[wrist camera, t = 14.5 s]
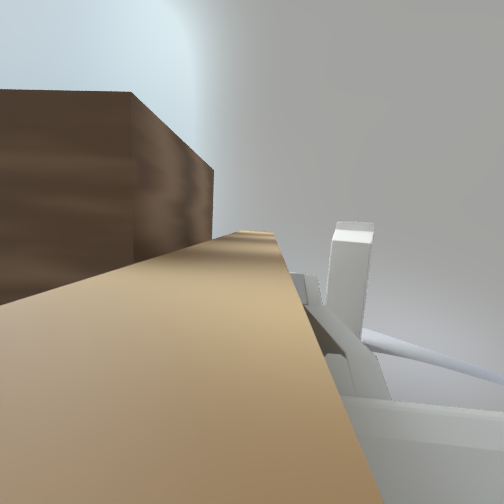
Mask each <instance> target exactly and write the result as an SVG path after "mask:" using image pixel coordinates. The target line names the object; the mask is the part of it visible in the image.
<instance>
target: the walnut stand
mask: <svg viewBox="0 0 504 504" xmlns="http://www.w3.org/2000/svg"><path fill="white" fill-rule="evenodd" d="M213 182H214V170H213V169H212V168H211V167H210V166H209V165H208V164H207V163H206V162H205V161H203V160H202V159H201V158H200V157H199V156H198V155H197V154H196V153H195V152H194V151H193V150H192V149H191V148H190V147H189V146H188V145H187V144H186V143H184V142H183V141H182V140H181V139H180V138H179V137H178V136H177V135H176V134H175V133H174V132H173V131H172V130H171V129H170V128H169V127H168V126H167V125H165V124H164V123H163V122H162V121H161V120H160V119H159V118H158V117H157V116H156V115H155V114H154V113H153V112H152V111H151V110H150V109H149V108H148V107H146V106H145V105H144V104H143V103H142V102H141V101H140V100H139V99H138V98H137V97H136V96H135V95H134V94H133V93H132V92H112V91H61V90H11V89H9V90H8V89H0V306H1V305H4V304H7V303H11V302H14V301H17V300H20V299H23V298H27V297H30V296H33V295H36V294H39V293H43V292H46V291H49V290H52V289H55V288H59V287H62V286H65V285H68V284H72V283H75V282H78V281H81V280H84V279H88V278H91V277H94V276H97V275H100V274H104V273H107V272H110V271H113V270H116V269H120V268H123V267H126V266H129V265H132V264H136V263H139V262H142V261H145V260H148V259H152V258H155V257H158V256H161V255H165V254H168V253H171V252H174V251H177V250H181V249H184V248H187V247H190V246H193V245H197V244H200V243H203V242H206V241H209V240H212V216H213V214H212V213H213V184H214V183H213Z"/></svg>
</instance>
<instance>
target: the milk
mask: <svg viewBox="0 0 504 504" xmlns="http://www.w3.org/2000/svg"><path fill="white" fill-rule="evenodd" d="M373 236H374V223H369V222H346V221H345V222H344V221H338V222H337V224H336V231H335V233H334V235H333V238H332V243H331V252H330V262H329V271H328V281H327V292H326V301H325V306H327V307H328V308H329V309H330V310H331V311H332V312H333V313H334V314H335V315H336V316H337V317H338V318H339V319H340V320H341V321H342V322H343V323H344V324H345V325H346V326H347V327H348V328H349V329H350V330H351V331H352V332H353V333H354V334H355V335H356V337H357V338H358V339H359V340H360V341H361V333H362V325H363V318H364V310H365V302H366V294H367V286H368V278H369V270H370V262H371V254H372V246H373Z"/></svg>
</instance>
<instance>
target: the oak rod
mask: <svg viewBox="0 0 504 504" xmlns="http://www.w3.org/2000/svg"><path fill="white" fill-rule="evenodd" d="M0 504H384V502H383V500H382V497H381V495H380V492H379V490H378V487H377V485H376V483H375V480H374V478H373V475H372V473H371V470H370V468H369V465H368V463H367V461H366V458H365V456H364V453H363V451H362V448H361V446H360V444H359V441H358V439H357V436H356V434H355V431H354V429H353V427H352V424H351V422H350V419H349V417H348V414H347V412H346V409H345V407H344V405H343V402H342V400H341V397H340V395H339V392H338V390H337V388H336V385H335V383H334V380H333V378H332V375H331V373H330V370H329V368H328V366H327V363H326V361H325V358H324V356H323V353H322V351H321V349H320V346H319V344H318V341H317V339H316V336H315V334H314V332H313V329H312V327H311V324H310V322H309V319H308V317H307V314H306V312H305V310H304V307H303V305H302V302H301V300H300V297H299V295H298V293H297V290H296V288H295V285H294V283H293V280H292V278H291V276H290V273H289V271H288V269H287V266H286V263H285V261H284V258H283V256H282V254H281V251H280V249H279V246H278V244H277V242H276V239H275V237H274V234H273V232H266V231H248V230H241V231H239V232H235V233H232V234H229V235H225V236H222V237H219V238H216V239H213V240H209V241H206V242H203V243H200V244H197V245H193V246H190V247H187V248H184V249H181V250H177V251H174V252H171V253H168V254H165V255H161V256H158V257H155V258H152V259H148V260H145V261H142V262H139V263H136V264H132V265H129V266H126V267H123V268H120V269H116V270H113V271H110V272H107V273H104V274H100V275H97V276H94V277H91V278H88V279H84V280H81V281H78V282H75V283H72V284H68V285H65V286H62V287H59V288H55V289H52V290H49V291H46V292H43V293H39V294H36V295H33V296H30V297H27V298H23V299H20V300H17V301H14V302H11V303H7V304H4V305H1V306H0Z"/></svg>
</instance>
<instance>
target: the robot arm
mask: <svg viewBox="0 0 504 504" xmlns="http://www.w3.org/2000/svg"><path fill="white" fill-rule="evenodd" d="M290 276H291V278H292V280H293V283H294V285H295V288H296V290H297V293H298V295H299V297H300V300H301V302H302V305H303V307H304V310H305V312H306V314H307V317H308V319H309V322H310V324H311V327H312V329H313V332H314V334H315V336H316V339H317V341H318V344H319V346H320V349H321V351H322V353H323V356H324V358H325V361H326V363H327V366H328V368H329V370H330V373H331V375H332V378H333V380H334V383H335V385H336V388H337V390H338V392H339V395H340V397H341V400H342V402H343V405H344V407H345V409H346V412H347V414H348V417H349V419H350V422H351V424H352V427H353V429H354V431H355V434H356V436H357V439H358V441H359V444H360V446H361V448H362V451H363V453H364V456H365V458H366V461H367V463H368V465H369V468H370V470H371V473H372V475H373V478H374V480H375V483H376V485H377V487H378V490H379V492H380V495H381V497H382V500H383V502H384V504H504V412H499V411H489V410H480V409H470V408H460V407H450V406H439V405H430V404H421V403H410V402H401V401H392V399H391V397H390V394H389V391H388V388H387V385H386V382H385V379H384V377H383V374H382V371H381V368H380V365H379V362H378V359H377V357H376V356H375V355H374V354H373V353H372V352H371V351H370V350H369V349H368V348H367V347H366V346H365V345H364V344H363V343H362V342H361V341H360V340H359V339H358V338H357V337H356V335H355V334H354V333H353V332H352V331H351V330H350V329H349V328H348V327H347V326H346V325H345V324H344V323H343V322H342V321H341V320H340V319H339V318H338V317H337V316H336V315H335V314H334V313H333V312H332V311H331V310H330V309H329V308H328V307H327V306H323V303H322V298H321V294H320V288H319V283H318V279H317V275H316V274H301V273H290Z"/></svg>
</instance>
